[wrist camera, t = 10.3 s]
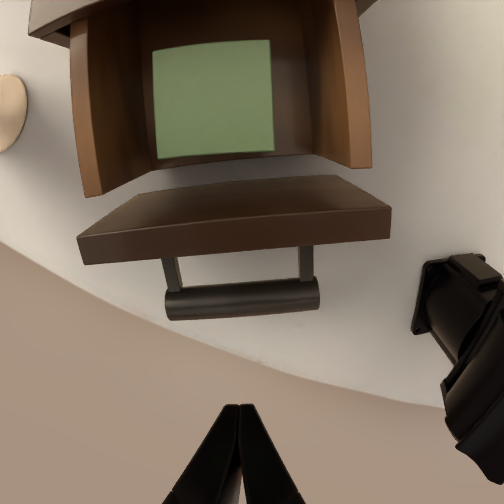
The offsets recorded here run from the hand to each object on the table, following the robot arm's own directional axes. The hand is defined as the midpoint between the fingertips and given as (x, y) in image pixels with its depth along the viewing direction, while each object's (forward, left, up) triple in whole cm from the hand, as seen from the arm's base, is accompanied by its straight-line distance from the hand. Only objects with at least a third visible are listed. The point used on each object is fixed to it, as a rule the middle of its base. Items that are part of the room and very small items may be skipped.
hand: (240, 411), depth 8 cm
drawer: (+8, 0, -11) cm, 14 cm away
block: (+9, 0, -10) cm, 13 cm away
